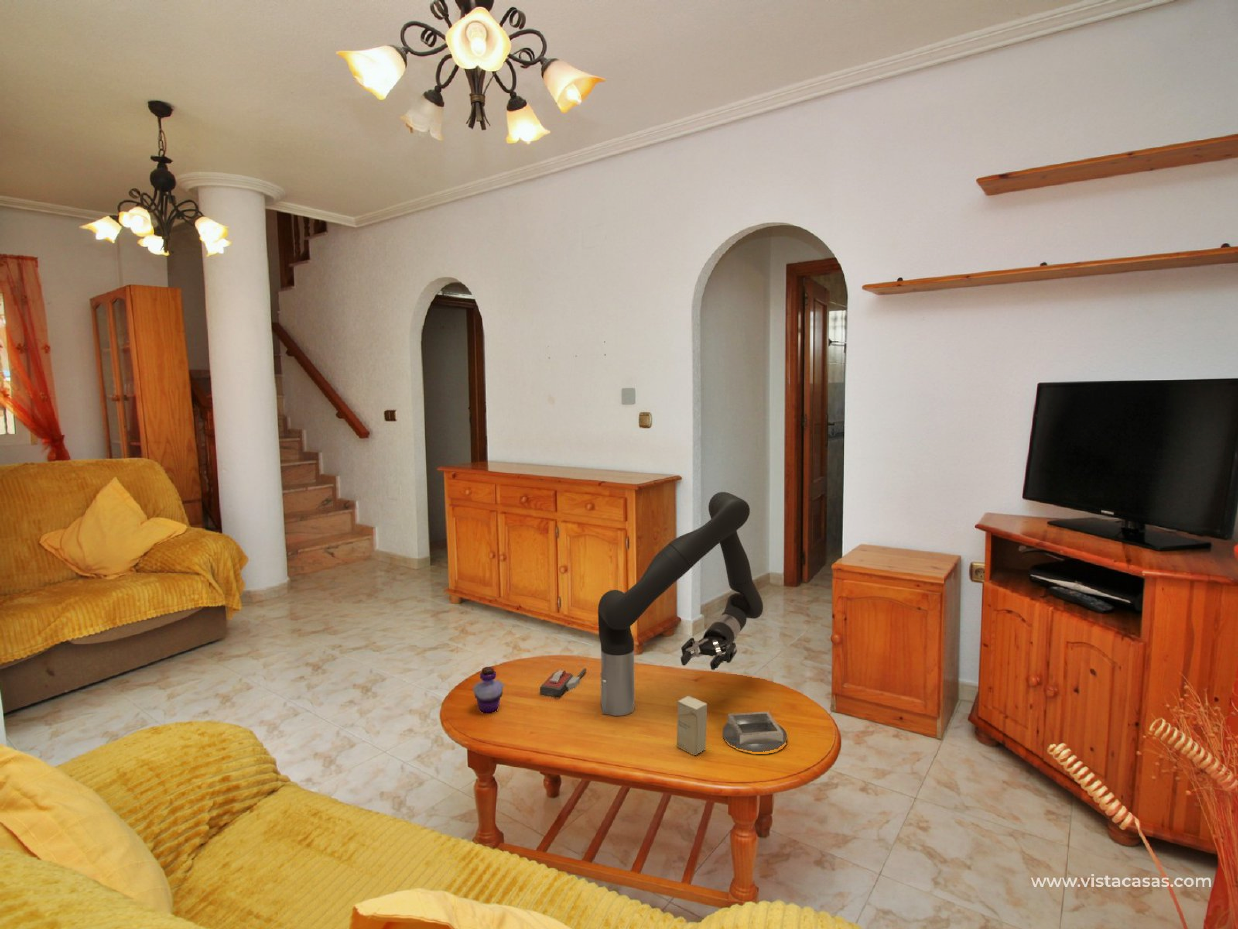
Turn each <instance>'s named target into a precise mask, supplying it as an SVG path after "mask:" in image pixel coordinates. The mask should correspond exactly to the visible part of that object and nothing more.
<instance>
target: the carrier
mask: <svg viewBox="0 0 1238 929" xmlns="http://www.w3.org/2000/svg"><path fill="white" fill-rule="evenodd" d="M723 736H724V739H725V740H726V741H727V742H728V743H729V744H730V745H732V746H735V747H736V748H738V749H743V750H747V751H752V752H763V751H764V752H765V751H770V750H774V749H778V748H779V747H780V746H782V745H783V744H784V743H785V742H786V739H787V738H788V734H787V732H786V730H785V729H784V728H783V727H782V726H781V725H779V723H777V721H776V720H775V718H774V717H773V716H772V714H771V713H770V711H756V712H755V711H754V712H740V713H739V712H738V713H728V714H727V722H726V723H725V724H724V725H723V728H722V737H723ZM724 739H723V740H724ZM787 740H788V739H787Z"/></svg>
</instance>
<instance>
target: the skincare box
mask: <svg viewBox="0 0 1238 929" xmlns="http://www.w3.org/2000/svg"><path fill="white" fill-rule="evenodd" d="M707 712H708V704H707V702H704V701H702V700H699V699H698V698H694V697H692V696H690V695H687V696H685V697H683V698H681V699H678V700H677V722H676V723H677V724H676V727H677V728H676V730H677V731H676V747H677V746H678V747H679V749H680V748H681V749H680V750H682V749H683V750H682V751H684V750H685V751H684V752H686V751H687V753H688V752H689V753H688V754H690V753H692V754H693V755H692V754H691V755H692V756H694V755H696V756H697V754H698V753H700V752H701V753H703V752H704V751H703V750H704V749H706V747H707V746H706V745H707V743H706V742H707V717H708V715H707V714H708V713H707ZM678 747H677V748H678ZM702 751H703V752H702ZM701 753H700V754H701ZM698 755H699V754H698Z"/></svg>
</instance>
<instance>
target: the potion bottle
mask: <svg viewBox="0 0 1238 929" xmlns="http://www.w3.org/2000/svg"><path fill="white" fill-rule="evenodd" d="M496 677H497V672H496V671H495V668H494V667H492V666H485V667H483V668H481V672H480V673H479V679H480V680H481V681H478V682H476V683H475V684H474V685H473V687H472V691H473V694H474V697H475V698H474V699H476V702H477V706H478V709H479V710H480V711H481V712H483V713H492V712H495V711H496V712H495V713H497V712H498V711H497V709H498V707H499V706H500V701H501V698H503V690H504V685H505V683H503V681H500V680H499V679H496ZM499 708H500V707H499ZM479 710H478V711H479ZM498 710H499V709H498ZM480 711H479V712H480ZM481 712H480V713H481ZM492 714H493V713H492Z"/></svg>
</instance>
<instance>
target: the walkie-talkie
mask: <svg viewBox="0 0 1238 929" xmlns="http://www.w3.org/2000/svg"><path fill="white" fill-rule="evenodd" d="M586 671H587V668H583V669H582V671H581V672H579V673H578V675H577V676H574V674H572V673H570V672H566V670H561V669H557V671H555V672H553V673H552V674H551V675H550V676H549V677H548V678H547V679H546V680H545V681H544V682H543V683H542V684H540V687H539V695H541V696H542V695H545V697H549V696H551V698H561V696H563V694H565V692H566V691H571V690H574V689H576V688H577V686H578V685H580V683H581V678H582V677H583V675H584V674H585V672H586ZM573 688H574V689H573Z"/></svg>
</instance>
